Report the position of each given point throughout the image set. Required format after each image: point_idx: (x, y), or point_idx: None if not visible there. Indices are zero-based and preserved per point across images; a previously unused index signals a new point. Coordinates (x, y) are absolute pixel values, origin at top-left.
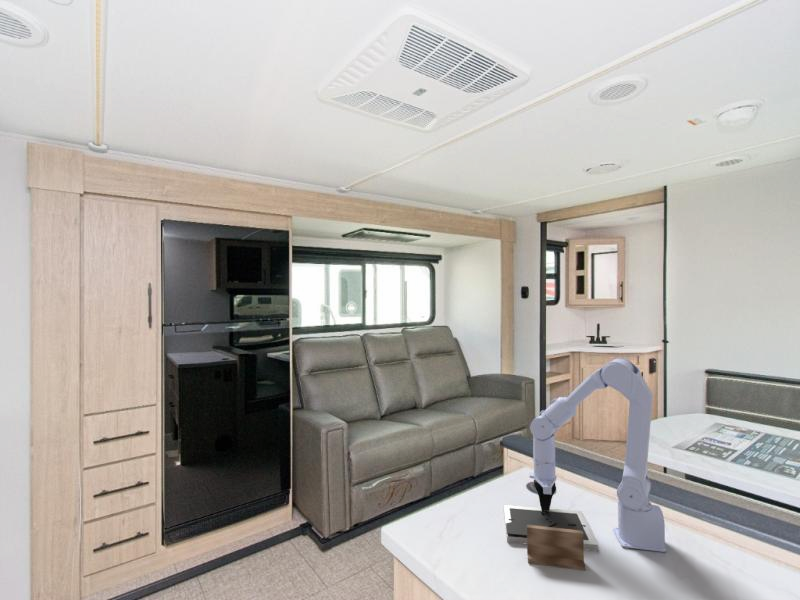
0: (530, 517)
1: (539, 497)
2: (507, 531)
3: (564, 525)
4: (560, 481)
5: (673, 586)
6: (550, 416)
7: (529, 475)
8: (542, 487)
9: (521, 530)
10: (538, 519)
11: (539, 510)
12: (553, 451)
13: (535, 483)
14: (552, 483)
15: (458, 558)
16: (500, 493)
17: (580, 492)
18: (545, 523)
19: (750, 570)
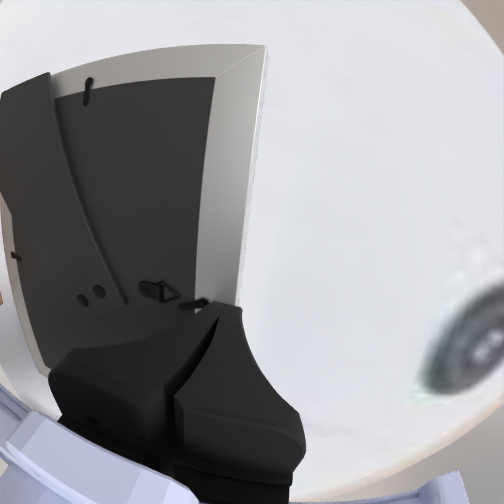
0: (108, 202)
1: (159, 333)
2: (7, 91)
3: (85, 343)
4: (482, 407)
5: (26, 401)
6: None
7: (65, 457)
8: (64, 411)
9: (8, 145)
10: (82, 243)
11: (198, 283)
12: None
13: (108, 404)
14: (8, 464)
15: (13, 9)
16: (471, 109)
17: (399, 451)
18: (60, 267)
19: None
